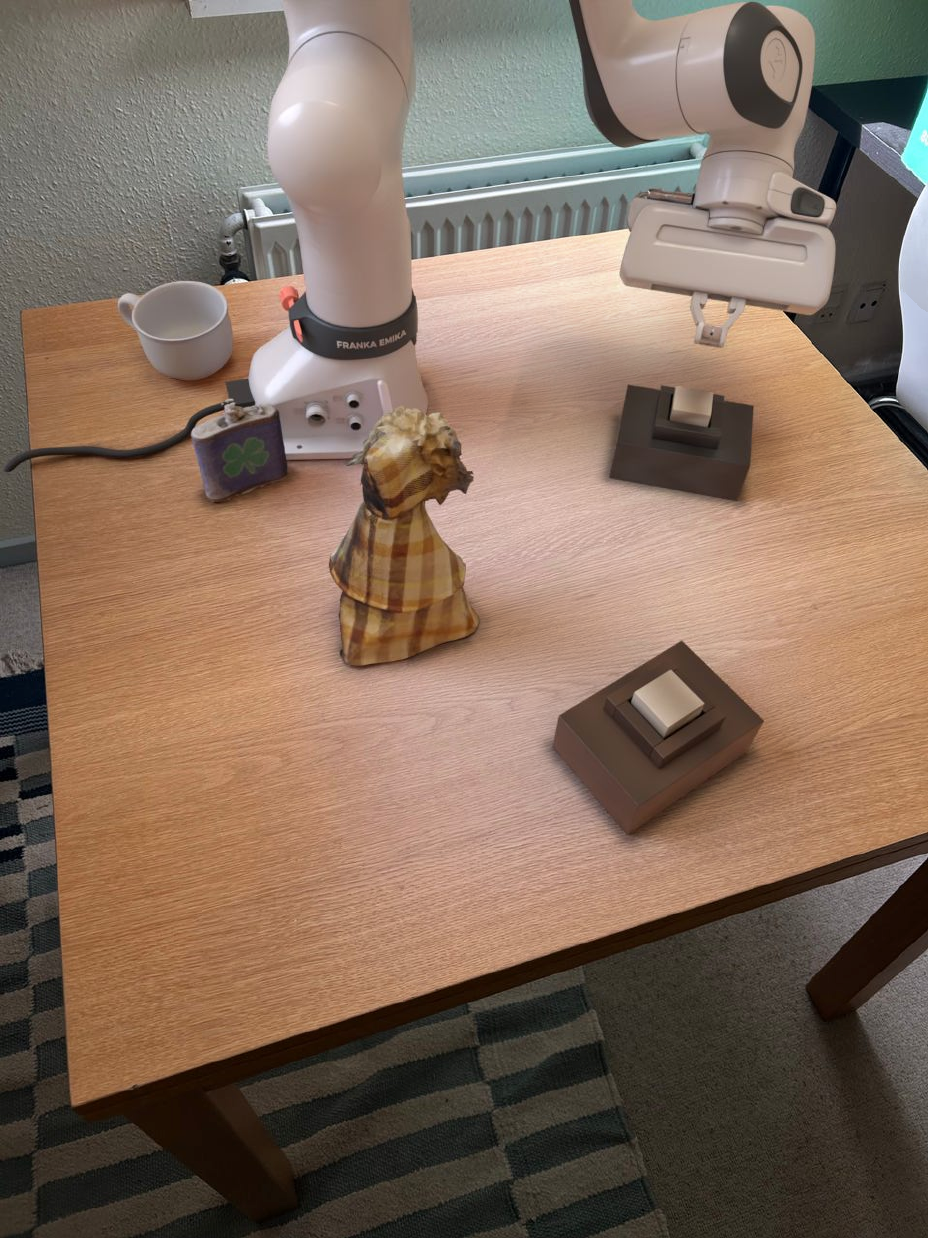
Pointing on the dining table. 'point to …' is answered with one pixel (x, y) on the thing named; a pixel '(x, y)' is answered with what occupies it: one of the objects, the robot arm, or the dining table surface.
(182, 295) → the teacup
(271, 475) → the flask
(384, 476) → the plush toy
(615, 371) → the dining table surface
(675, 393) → the key far
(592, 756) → the push button box
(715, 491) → the stepped block
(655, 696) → the key near
